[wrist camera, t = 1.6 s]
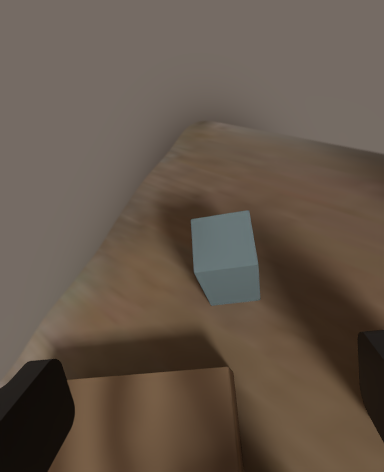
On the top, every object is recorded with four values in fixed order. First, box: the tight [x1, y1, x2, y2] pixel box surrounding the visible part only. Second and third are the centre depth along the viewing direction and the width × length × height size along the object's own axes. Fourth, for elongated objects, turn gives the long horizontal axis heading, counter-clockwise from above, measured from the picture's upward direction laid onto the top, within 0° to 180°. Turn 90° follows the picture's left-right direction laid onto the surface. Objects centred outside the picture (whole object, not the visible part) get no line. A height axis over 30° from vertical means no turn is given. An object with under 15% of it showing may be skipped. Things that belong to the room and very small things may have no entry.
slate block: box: [191, 210, 260, 306], centre depth 30 cm, size 5×5×9 cm
